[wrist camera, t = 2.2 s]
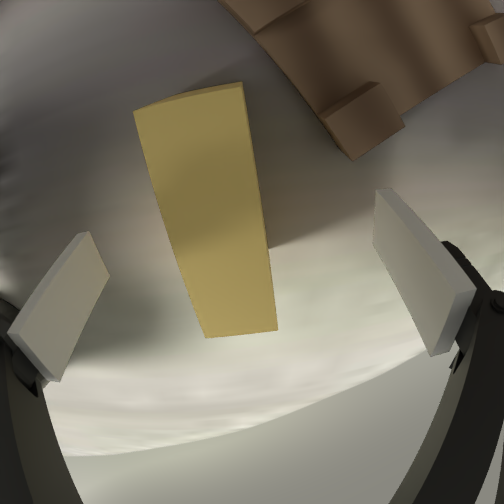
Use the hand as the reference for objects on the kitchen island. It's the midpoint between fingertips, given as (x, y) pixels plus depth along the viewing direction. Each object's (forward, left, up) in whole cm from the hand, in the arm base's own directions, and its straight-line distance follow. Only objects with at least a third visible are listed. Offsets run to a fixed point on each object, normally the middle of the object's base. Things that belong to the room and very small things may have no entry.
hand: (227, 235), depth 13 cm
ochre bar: (0, 0, -8) cm, 8 cm away
